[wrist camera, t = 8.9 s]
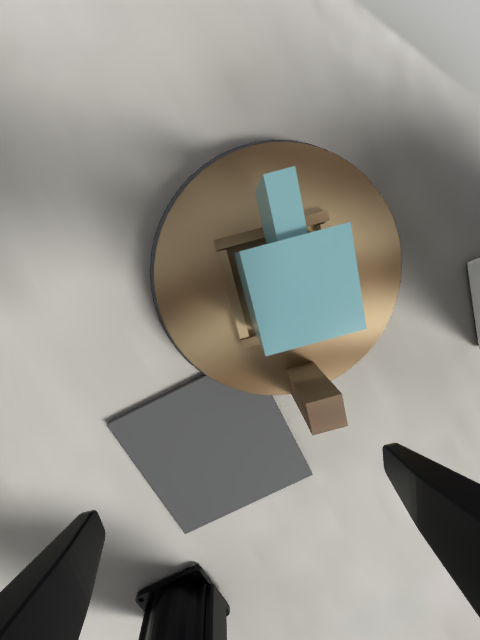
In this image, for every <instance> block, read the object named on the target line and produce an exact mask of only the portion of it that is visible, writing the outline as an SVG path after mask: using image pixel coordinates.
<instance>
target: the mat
mask: <svg viewBox="0 0 480 640" xmlns="http://www.w3.org/2000/svg"><path fill="white" fill-rule="evenodd" d="M107 426H108V428H109V429H110V431H111V432H112V433H113V435H114V436H115V437H116V439H117V440H118V442H119V443H120V444H121V446H122V447H123V449H124V450H125V451H126V453H127V454H128V455H129V457H130V458H131V460H132V461H133V462H134V464H135V465H136V467H137V468H138V469H139V471H140V472H141V473H142V475H143V476H144V478H145V479H146V480H147V482H148V483H149V485H150V486H151V487H152V489H153V490H154V492H155V493H156V494H157V496H158V497H159V498H160V500H161V501H162V503H163V504H164V505H165V507H166V508H167V510H168V511H169V512H170V514H171V515H172V516H173V518H174V519H175V521H176V522H177V523H178V525H179V526H180V528H181V529H182V530H183V532H184V533H185V534H186V533H189V532H191V531H193V530H195V529H197V528H199V527H201V526H204V525H206V524H208V523H210V522H212V521H214V520H216V519H219V518H221V517H223V516H225V515H227V514H229V513H231V512H234V511H236V510H238V509H240V508H242V507H244V506H246V505H249V504H251V503H253V502H255V501H257V500H259V499H261V498H264V497H266V496H268V495H270V494H272V493H274V492H276V491H279V490H281V489H283V488H285V487H287V486H289V485H291V484H294V483H296V482H298V481H300V480H302V479H304V478H306V477H309V476H311V475H313V474H312V472H311V470H310V468H309V466H308V464H307V462H306V460H305V458H304V456H303V454H302V452H301V450H300V448H299V447H298V445H297V443H296V441H295V439H294V437H293V435H292V433H291V431H290V429H289V427H288V425H287V423H286V421H285V420H284V418H283V416H282V414H281V412H280V410H279V408H278V406H277V404H276V402H275V400H274V398H273V396H272V395H260V394H253V393H247V392H244V391H240V390H237V389H233V388H231V387H229V386H226V385H223V384H221V383H219V382H217V381H215V380H213V379H211V378H209V377H208V376H206V375H203V376H201V377H199V378H197V379H195V380H193V381H191V382H189V383H187V384H185V385H183V386H180V387H178V388H176V389H174V390H172V391H170V392H168V393H166V394H164V395H162V396H160V397H158V398H156V399H154V400H152V401H150V402H148V403H146V404H144V405H142V406H140V407H138V408H136V409H134V410H132V411H130V412H128V413H126V414H124V415H122V416H120V417H118V418H116V419H113V420H111V421H109V422H108V424H107Z"/></svg>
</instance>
